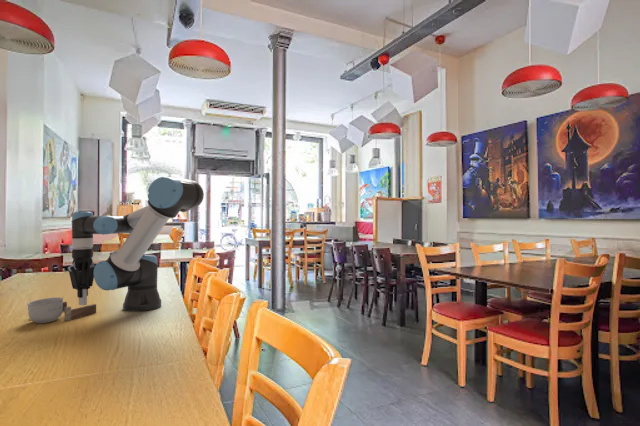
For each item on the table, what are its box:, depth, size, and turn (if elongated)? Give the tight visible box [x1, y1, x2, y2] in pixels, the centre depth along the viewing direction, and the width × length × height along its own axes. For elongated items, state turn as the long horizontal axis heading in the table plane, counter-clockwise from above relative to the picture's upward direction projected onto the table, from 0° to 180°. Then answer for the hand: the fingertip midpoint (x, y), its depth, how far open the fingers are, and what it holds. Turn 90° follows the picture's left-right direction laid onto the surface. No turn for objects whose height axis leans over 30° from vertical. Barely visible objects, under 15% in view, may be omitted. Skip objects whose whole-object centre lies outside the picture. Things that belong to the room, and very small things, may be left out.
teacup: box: [27, 296, 64, 324], centre depth 142 cm, size 14×11×8 cm
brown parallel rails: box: [63, 301, 97, 322], centre depth 150 cm, size 17×13×5 cm
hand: (82, 304), depth 156 cm, fingers closed
